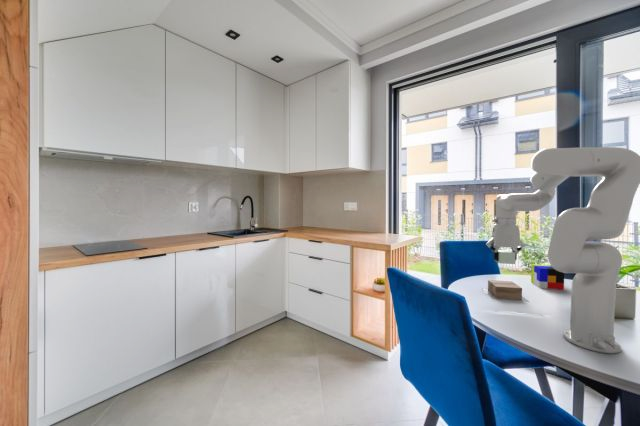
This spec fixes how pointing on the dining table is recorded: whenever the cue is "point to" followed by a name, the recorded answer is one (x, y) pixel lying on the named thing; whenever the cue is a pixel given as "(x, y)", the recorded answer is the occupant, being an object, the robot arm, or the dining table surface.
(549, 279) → the puzzle toy
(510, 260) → the sage brick
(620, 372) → the dining table surface
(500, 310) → the dining table surface
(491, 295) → the baseplate
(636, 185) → the robot arm
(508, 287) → the walnut block
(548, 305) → the dining table surface
